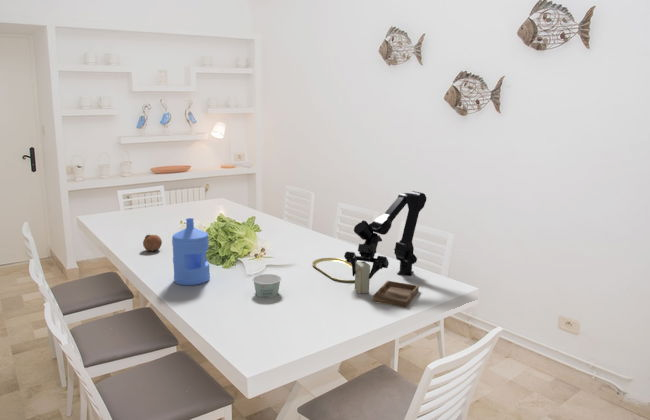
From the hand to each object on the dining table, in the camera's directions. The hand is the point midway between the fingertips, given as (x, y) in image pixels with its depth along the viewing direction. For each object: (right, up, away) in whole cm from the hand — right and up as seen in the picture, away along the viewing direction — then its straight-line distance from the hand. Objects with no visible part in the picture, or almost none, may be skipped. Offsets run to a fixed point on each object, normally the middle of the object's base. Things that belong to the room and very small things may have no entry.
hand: (361, 277), depth 213 cm
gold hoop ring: (-9, -1, +29) cm, 30 cm away
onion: (-107, +7, +55) cm, 121 cm away
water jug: (-75, -3, +12) cm, 76 cm away
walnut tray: (+14, -8, -2) cm, 17 cm away
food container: (-40, -7, -2) cm, 40 cm away
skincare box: (0, -6, +3) cm, 7 cm away
